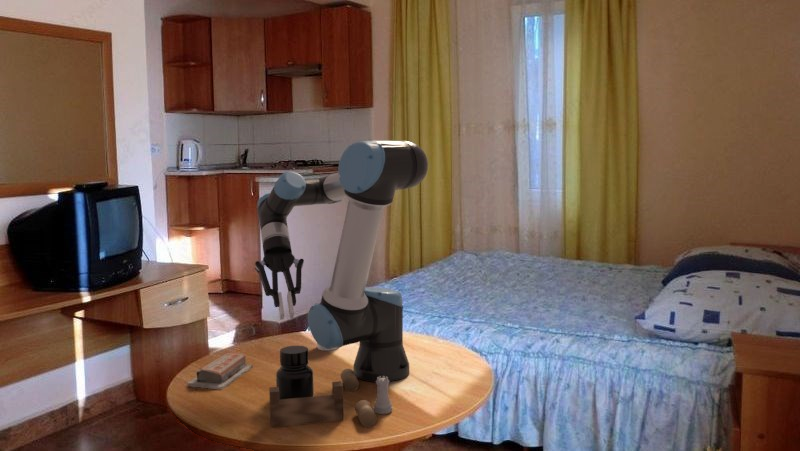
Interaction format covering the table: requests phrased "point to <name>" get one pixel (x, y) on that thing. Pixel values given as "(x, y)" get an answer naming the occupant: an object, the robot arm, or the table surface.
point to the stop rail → (306, 408)
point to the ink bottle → (294, 373)
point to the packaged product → (221, 371)
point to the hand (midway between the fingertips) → (287, 316)
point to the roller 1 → (349, 380)
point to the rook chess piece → (382, 396)
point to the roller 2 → (365, 413)
